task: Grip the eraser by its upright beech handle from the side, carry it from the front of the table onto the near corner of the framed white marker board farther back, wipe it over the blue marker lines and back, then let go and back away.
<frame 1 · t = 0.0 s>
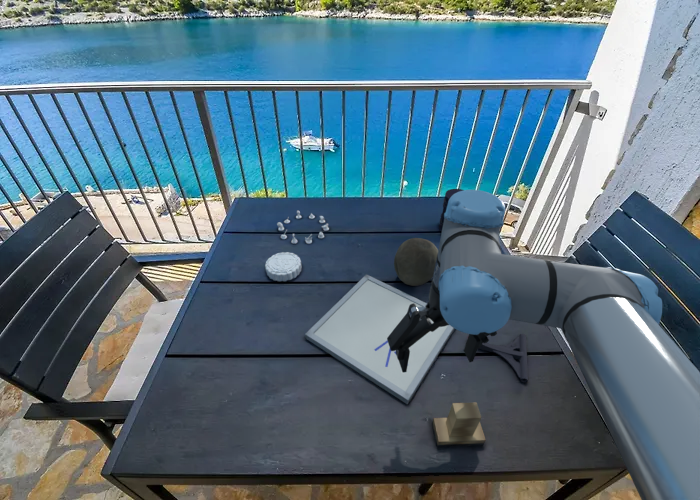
hand: (435, 361, 69), 19 cm above the table, tool pointing down, fingers open, 13 cm apart
bracket: (495, 351, 93), on the table
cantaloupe: (414, 279, 115), on the table
mooncake: (284, 270, 119), on the table
board: (383, 330, 98), on the table
game piece set: (303, 229, 138), on the table
storage jar: (451, 228, 138), on the table
eraser: (456, 434, 76), on the table
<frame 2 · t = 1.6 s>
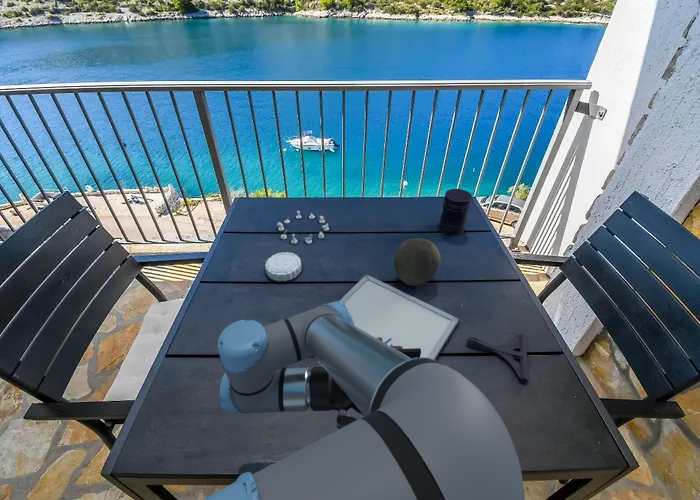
hand: (427, 385, 64), 20 cm above the table, tool horizontal, fingers open, 13 cm apart
nothing on the table moved.
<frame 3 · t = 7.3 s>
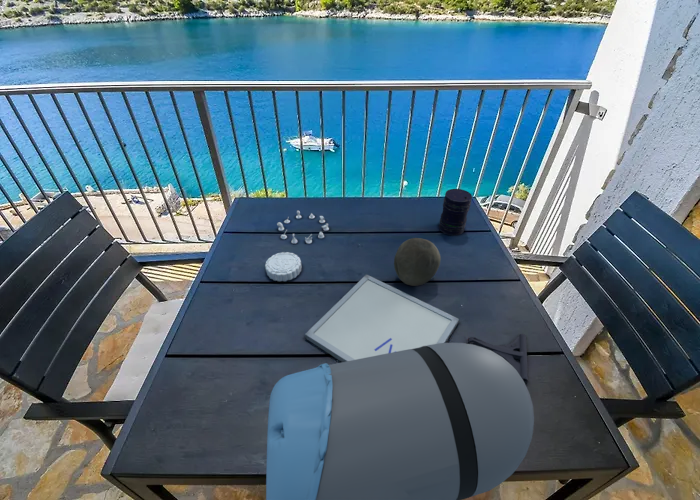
hand: (489, 417, 72), 7 cm above the table, tool horizontal, fingers closed on eraser, 3 cm apart
eraser: (456, 434, 76), on the table, touching gripper
everything else where it was.
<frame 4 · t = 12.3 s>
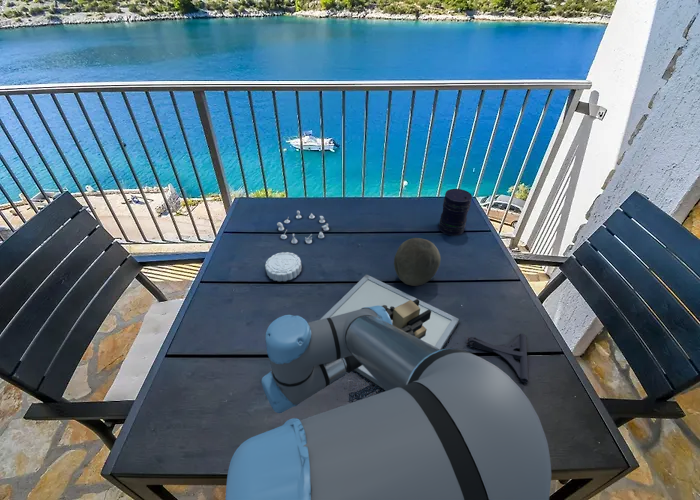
hand: (423, 308, 81), 18 cm above the table, tool horizontal, fingers closed on eraser, 3 cm apart
eraser: (402, 338, 83), point 11 cm above the table, touching gripper
everything else where it was.
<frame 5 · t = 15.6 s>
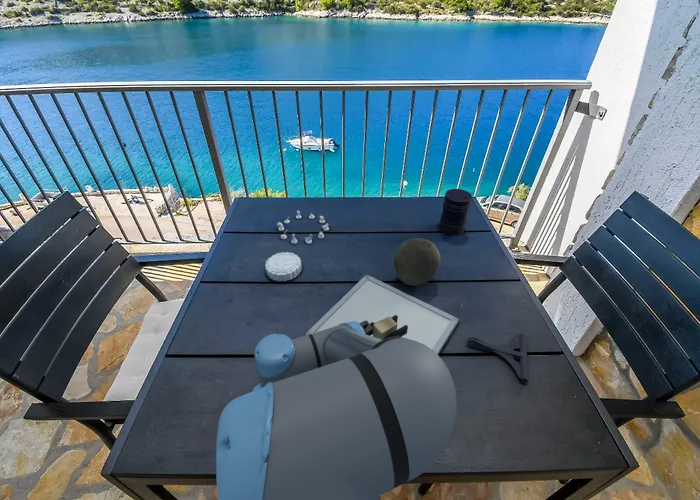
hand: (401, 324, 89), 9 cm above the table, tool horizontal, fingers closed on eraser, 3 cm apart
eraser: (382, 350, 91), point 2 cm above the table, touching gripper
everything else where it was.
when the fingers open (9 cm above the table, at t = 17.8 s): eraser stays where it is, resting on board.
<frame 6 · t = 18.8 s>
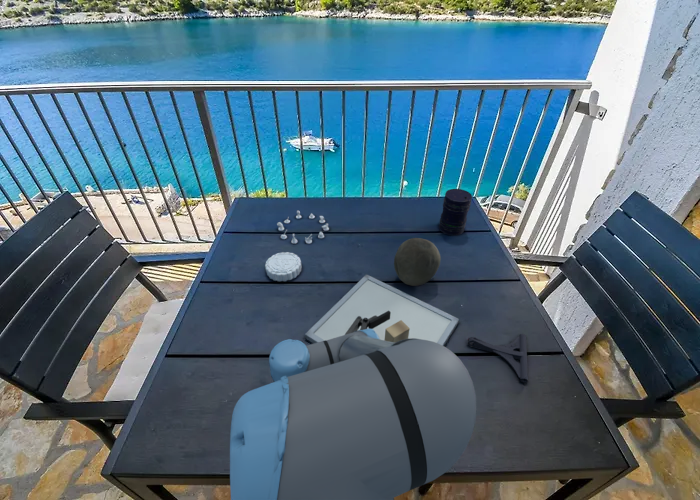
hand: (406, 332, 87), 9 cm above the table, tool horizontal, fingers open, 13 cm apart
eraser: (394, 354, 90), point 2 cm above the table, touching board
everything else where it was.
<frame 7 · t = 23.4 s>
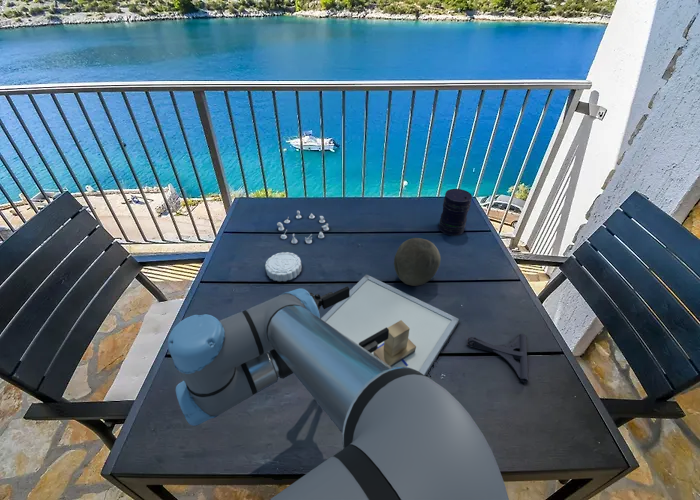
hand: (366, 310, 72), 24 cm above the table, tool horizontal, fingers open, 13 cm apart
nothing on the table moved.
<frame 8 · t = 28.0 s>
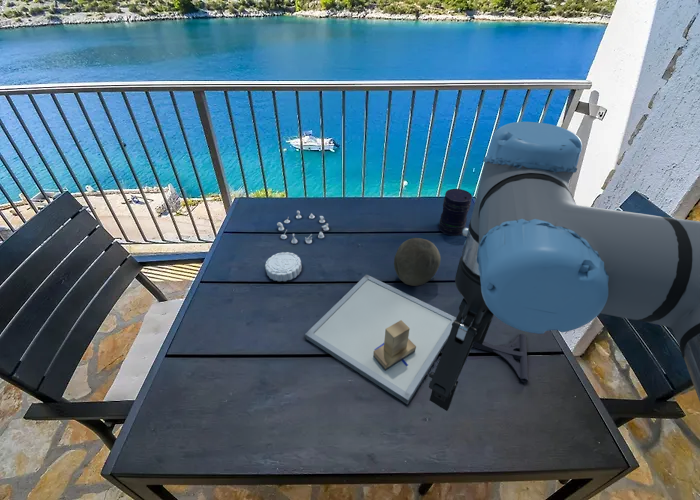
hand: (458, 369, 53), 32 cm above the table, tool pointing down, fingers open, 13 cm apart
nothing on the table moved.
at the end: eraser inside the target area on the board (1.4 cm from its centre), point 1.6 cm above the board's base; eraser moved 22.7 cm from its start; eraser tilted 0° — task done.
